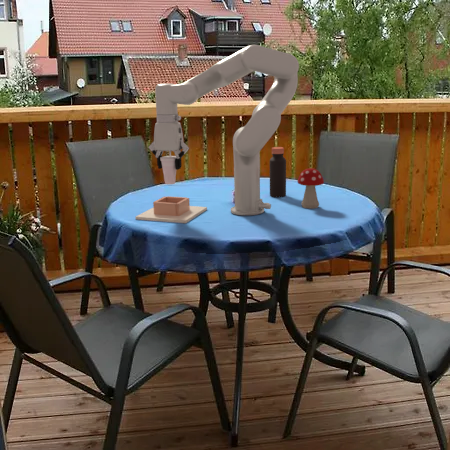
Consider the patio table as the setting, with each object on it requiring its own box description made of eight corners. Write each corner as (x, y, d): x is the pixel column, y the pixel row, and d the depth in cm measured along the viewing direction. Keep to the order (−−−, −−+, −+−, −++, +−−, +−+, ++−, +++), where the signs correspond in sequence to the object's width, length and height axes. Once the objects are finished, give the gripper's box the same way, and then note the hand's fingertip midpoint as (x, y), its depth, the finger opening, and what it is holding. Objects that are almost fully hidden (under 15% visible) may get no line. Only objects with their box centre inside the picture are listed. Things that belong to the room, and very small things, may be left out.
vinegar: (288, 196, 247) (289, 148, 241) (274, 198, 245) (274, 149, 239) (281, 193, 253) (281, 146, 248) (266, 195, 251) (266, 147, 245)
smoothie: (176, 185, 217) (174, 146, 213) (159, 185, 218) (157, 146, 215) (180, 181, 223) (179, 144, 219) (164, 181, 224) (162, 144, 221)
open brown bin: (207, 209, 230) (206, 195, 228) (185, 223, 212) (185, 208, 210) (160, 206, 236) (159, 192, 235) (135, 219, 218) (134, 204, 217)
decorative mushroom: (324, 204, 232) (325, 166, 228) (322, 210, 224) (322, 170, 220) (299, 203, 235) (299, 166, 231) (295, 209, 227) (295, 170, 223)
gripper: (193, 118, 215) (195, 167, 220) (150, 117, 221) (153, 165, 226) (185, 120, 208) (187, 171, 213) (140, 119, 214) (143, 169, 219)
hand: (169, 168), depth 219 cm, fingers closed on smoothie, 6 cm apart
